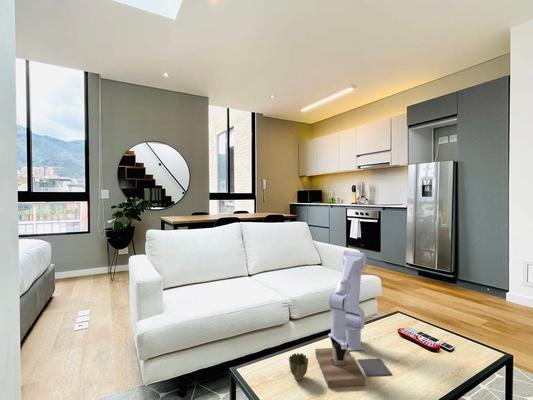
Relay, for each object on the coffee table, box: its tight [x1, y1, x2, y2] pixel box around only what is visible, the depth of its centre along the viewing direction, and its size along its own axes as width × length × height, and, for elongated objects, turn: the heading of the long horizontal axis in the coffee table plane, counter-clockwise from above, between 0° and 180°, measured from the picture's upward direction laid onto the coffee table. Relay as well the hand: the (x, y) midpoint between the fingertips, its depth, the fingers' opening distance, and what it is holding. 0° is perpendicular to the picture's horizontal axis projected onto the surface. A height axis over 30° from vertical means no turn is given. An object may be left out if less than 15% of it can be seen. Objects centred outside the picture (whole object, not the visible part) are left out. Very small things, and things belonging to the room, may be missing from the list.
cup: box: [288, 352, 309, 381], centre depth 110 cm, size 8×7×8 cm
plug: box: [331, 344, 345, 366], centre depth 115 cm, size 4×4×8 cm
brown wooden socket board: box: [314, 347, 366, 389], centre depth 115 cm, size 20×14×3 cm
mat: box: [357, 358, 393, 377], centre depth 116 cm, size 10×10×1 cm
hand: (338, 356), depth 115 cm, fingers closed on plug, 4 cm apart
